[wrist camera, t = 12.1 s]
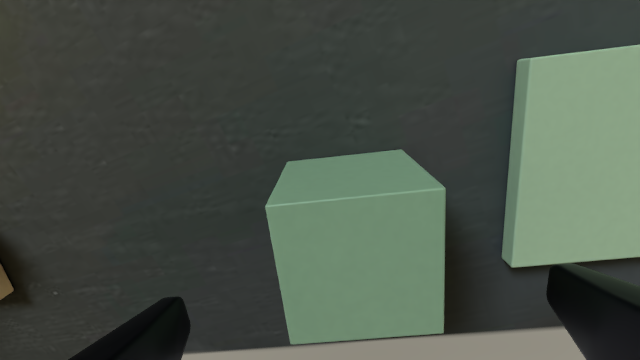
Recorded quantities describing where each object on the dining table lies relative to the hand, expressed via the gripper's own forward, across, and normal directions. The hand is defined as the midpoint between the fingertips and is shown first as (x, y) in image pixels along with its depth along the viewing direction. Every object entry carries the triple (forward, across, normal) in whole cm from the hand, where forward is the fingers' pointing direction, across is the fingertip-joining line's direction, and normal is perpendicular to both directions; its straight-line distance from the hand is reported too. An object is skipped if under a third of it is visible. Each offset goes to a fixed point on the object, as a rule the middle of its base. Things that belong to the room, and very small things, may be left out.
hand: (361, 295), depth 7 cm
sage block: (+5, 0, 0) cm, 5 cm away
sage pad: (+5, -10, -1) cm, 12 cm away
